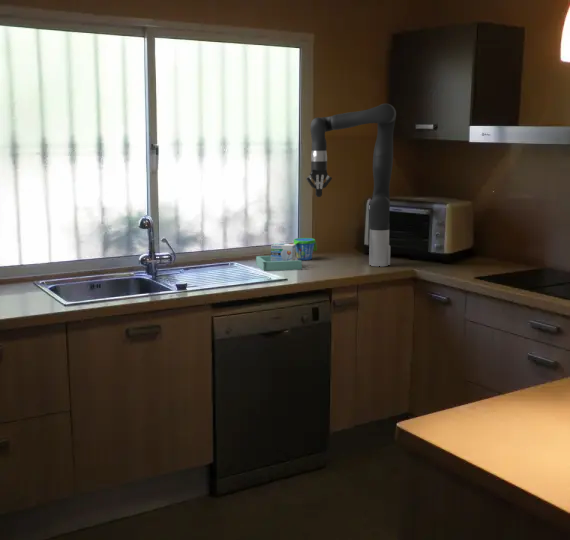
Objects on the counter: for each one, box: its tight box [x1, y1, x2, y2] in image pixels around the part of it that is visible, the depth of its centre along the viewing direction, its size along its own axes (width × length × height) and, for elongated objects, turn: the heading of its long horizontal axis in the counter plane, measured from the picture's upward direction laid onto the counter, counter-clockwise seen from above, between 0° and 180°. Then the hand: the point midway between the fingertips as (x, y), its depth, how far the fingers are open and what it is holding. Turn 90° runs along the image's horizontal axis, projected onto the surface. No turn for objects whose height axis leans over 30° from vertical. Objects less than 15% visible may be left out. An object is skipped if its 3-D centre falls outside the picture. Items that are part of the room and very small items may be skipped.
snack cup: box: [292, 237, 318, 261], centre depth 377 cm, size 16×10×10 cm
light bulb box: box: [270, 242, 296, 261], centre depth 356 cm, size 11×7×11 cm, turn 78°
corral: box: [255, 255, 303, 272], centre depth 356 cm, size 18×18×4 cm
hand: (318, 196), depth 362 cm, fingers closed
